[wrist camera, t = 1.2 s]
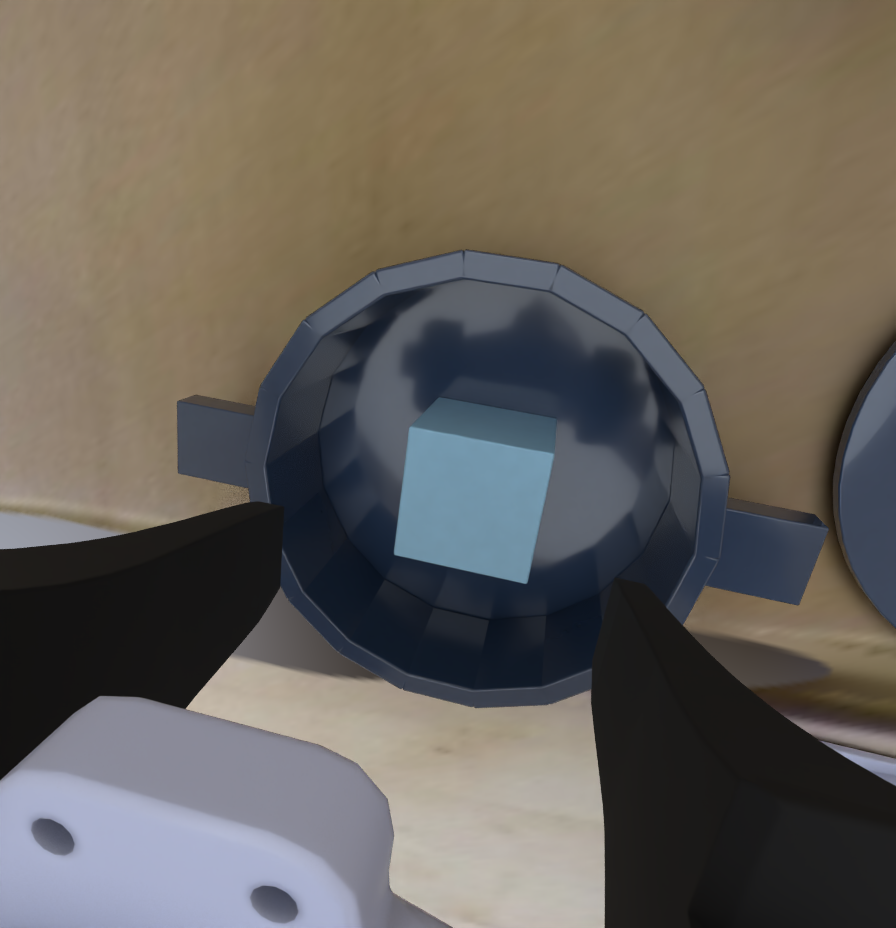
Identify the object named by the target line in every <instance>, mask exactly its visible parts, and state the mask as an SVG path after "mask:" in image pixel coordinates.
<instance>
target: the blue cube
mask: <svg viewBox="0 0 896 928" xmlns="http://www.w3.org/2000/svg"><path fill="white" fill-rule="evenodd" d="M556 429H557V419H555V418H550V417H545V416H540V415H534V414H529V413H523V412H518V411H512V410H507V409H501V408H496V407H490V406H485V405H480V404H474V403H469V402H463V401H458V400H452V399H447V398H441V397H439V398H438V399H437V400H436V401H435V402H434V403H433V404H432V405H431V406H430V407H429V408H428V409H427V410H426V411H425V412H424V413H423V414H422V415H421V416H420V417H419V418H418V419H417V420H416V421H415V422H414V423H413V424H412V425H411V426H410V427H409V433H408V441H407V449H406V457H405V465H404V473H403V482H402V490H401V498H400V506H399V514H398V522H397V530H396V538H395V546H394V555H397V556H401V557H406V558H411V559H415V560H420V561H424V562H429V563H433V564H438V565H442V566H447V567H451V568H456V569H460V570H465V571H469V572H474V573H478V574H483V575H487V576H492V577H497V578H501V579H506V580H510V581H515V582H519V583H524V584H527V582H528V579H529V574H530V569H531V565H532V560H533V555H534V551H535V546H536V541H537V536H538V532H539V527H540V522H541V518H542V513H543V508H544V504H545V499H546V494H547V489H548V485H549V480H550V475H551V471H552V466H553V461H554V456H555V443H556Z"/></svg>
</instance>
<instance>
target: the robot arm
mask: <svg viewBox="0 0 896 928" xmlns="http://www.w3.org/2000/svg"><path fill="white" fill-rule="evenodd" d="M283 524H284V507H283V506H279V505H274V504H269V503H265V502H260V501H256V502H249V503H244V504H240V505H236V506H232V507H228V508H224V509H221V510H217V511H213V512H210V513H206V514H203V515H199V516H195V517H192V518H188V519H185V520H181V521H177V522H173V523H169V524H165V525H161V526H157V527H153V528H149V529H145V530H141V531H137V532H132V533H128V534H123V535H118V536H112V537H107V538H101V539H95V540H89V541H82V542H75V543H68V544H58V545H47V546H38V547H27V548H17V549H0V928H453V927H451V926H449V925H448V924H446V923H444V922H443V921H441V920H439V919H437V918H436V917H434V916H432V915H430V914H429V913H427V912H425V911H424V910H422V909H420V908H418V907H417V906H415V905H413V904H412V903H410V902H408V901H406V900H405V899H403V898H401V897H400V896H398V895H396V894H394V893H393V892H392V891H391V889H390V886H389V866H390V859H391V853H392V846H393V839H394V831H393V825H392V820H391V815H390V809H389V804H388V799H387V798H386V797H385V795H384V794H383V793H382V792H381V791H380V789H379V788H378V787H377V786H376V785H375V784H374V782H373V781H372V780H371V779H370V778H369V777H368V775H367V774H366V773H365V772H364V771H363V769H362V768H361V767H360V766H359V765H358V764H357V763H355V762H353V761H351V760H349V759H347V758H345V757H343V756H341V755H339V754H337V753H335V752H333V751H331V750H329V749H327V748H325V747H323V746H321V745H318V744H314V743H310V742H307V741H303V740H299V739H295V738H292V737H288V736H284V735H280V734H277V733H273V732H269V731H265V730H262V729H258V728H254V727H250V726H247V725H243V724H239V723H235V722H231V721H228V720H224V719H220V718H216V717H213V716H209V715H205V714H201V713H198V712H194V711H190V710H186V708H187V706H188V705H189V704H190V702H191V701H192V700H193V699H194V697H195V696H196V695H197V694H198V693H199V691H200V690H201V689H202V688H203V687H204V686H205V685H206V683H207V682H208V681H209V680H210V679H211V678H212V676H213V675H214V674H215V673H216V672H217V671H218V669H219V668H220V667H221V666H222V665H223V664H224V662H225V661H226V660H227V659H228V658H229V657H230V655H231V654H232V653H233V652H234V651H235V650H236V648H237V647H238V646H239V645H240V644H241V643H242V641H243V640H244V639H245V638H246V637H247V635H248V634H249V633H250V632H251V631H252V629H253V628H254V627H255V626H256V625H257V623H258V622H259V621H260V619H261V618H262V616H263V614H264V613H265V611H266V610H267V608H268V607H269V605H270V603H271V602H272V600H273V598H274V597H275V595H276V593H277V592H278V590H279V588H280V581H281V562H282V543H283ZM591 705H592V715H593V724H594V733H595V742H596V750H597V759H598V767H599V776H600V784H601V793H602V801H603V814H604V830H605V928H896V759H895V758H890V757H886V756H882V755H878V754H874V753H870V752H865V751H861V750H857V749H853V748H849V747H845V746H840V745H836V744H832V743H828V742H824V741H820V740H818V739H816V738H815V737H813V736H812V735H810V734H809V733H807V732H806V731H804V730H803V729H801V728H800V727H799V726H797V725H796V724H794V723H793V722H791V721H790V720H788V719H787V718H785V717H784V716H783V715H781V714H780V713H779V712H777V711H776V710H775V709H773V708H772V707H771V706H769V705H768V704H767V703H766V702H764V701H763V700H762V699H761V698H759V697H758V696H757V695H756V694H754V693H753V692H752V691H751V690H749V689H748V688H747V687H746V686H745V685H743V684H742V683H741V682H740V681H739V680H737V679H736V678H735V677H734V676H733V675H732V674H731V673H729V672H728V671H727V670H726V669H725V668H724V667H723V666H722V665H721V664H720V663H719V662H718V661H717V660H716V659H715V658H714V657H713V656H711V655H710V653H708V652H707V651H706V650H705V648H704V647H703V646H702V645H701V644H700V643H699V642H698V641H697V640H696V639H695V638H694V637H693V636H692V635H691V634H690V633H689V632H688V631H687V630H686V629H685V627H684V626H683V625H682V624H681V623H680V622H679V621H678V620H677V619H676V618H675V616H674V615H673V614H672V613H671V612H670V611H669V610H668V608H667V607H666V606H665V605H664V604H663V603H662V602H661V601H660V599H659V598H658V597H657V596H656V595H655V594H654V593H653V592H652V591H651V589H650V588H649V587H648V586H646V585H645V584H643V583H638V582H634V581H629V580H624V579H620V578H615V577H614V581H613V585H612V588H611V592H610V596H609V599H608V603H607V607H606V611H605V614H604V618H603V622H602V626H601V629H600V633H599V637H598V641H597V644H596V648H595V652H594V655H593V659H592V687H591Z"/></svg>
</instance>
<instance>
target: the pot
mask: <svg viewBox="0 0 896 928" xmlns="http://www.w3.org/2000/svg"><path fill="white" fill-rule="evenodd" d="M260 386H261V387H260V388H259V392H258V397H257V402H256V406H252V405H247V404H241V403H236V402H231V401H226V400H221V399H216V398H210V397H205V396H200V395H193V396H190V397H188V398H185V399H182V400H179V401H177V434H178V473H179V474H183V475H188V476H193V477H197V478H202V479H207V480H212V481H216V482H221V483H226V484H230V485H235V486H240V487H244V488H248V490H249V497H250V502H256V501H260V502H265V503H269V504H274V505H279V506H283V507H284V524H283V543H282V562H281V581H280V586H281V588H282V590H283V592H284V594H285V596H286V598H287V599H288V601H289V602H290V603H291V604H292V605H293V606H294V607H295V608H296V610H297V611H298V612H299V613H300V614H301V615H302V616H303V617H304V618H305V619H306V620H307V621H308V622H309V623H310V624H311V625H312V626H313V627H314V628H315V629H316V630H317V631H318V633H319V634H320V635H321V636H322V637H323V638H324V639H325V640H326V641H327V642H328V643H329V644H330V645H331V646H332V647H333V648H334V649H335V650H336V651H337V652H339V653H340V654H341V655H343V656H344V657H346V658H348V659H350V660H351V661H353V662H355V663H356V664H358V665H360V666H361V667H363V668H365V669H367V670H368V671H370V672H372V673H374V674H375V675H377V676H379V677H380V678H382V679H384V680H386V681H387V682H389V683H391V684H392V685H394V686H396V687H398V688H399V689H402V688H403V690H405V691H409V692H413V693H417V694H421V695H425V696H429V697H433V698H437V699H441V700H445V701H449V702H453V703H457V704H461V705H465V706H469V707H474V708H492V707H515V706H538V705H548V704H553V703H556V702H558V701H561V700H564V699H567V698H569V697H572V696H575V695H577V694H580V693H583V692H586V691H588V690H591V687H592V659H593V655H594V652H595V648H596V644H597V641H598V637H599V633H600V629H601V626H602V622H603V618H604V614H605V611H606V607H607V603H608V599H609V596H610V592H611V588H612V585H613V581H614V577H615V578H620V579H624V580H629V581H634V582H638V583H643V584H645V585H646V586H648V587H649V588H650V589H651V591H652V592H653V593H654V594H655V595H656V596H657V597H658V598H659V599H660V601H661V602H662V603H663V604H664V605H665V606H666V607H667V608H668V610H669V611H670V612H671V613H672V614H673V615H674V616H675V618H676V619H677V620H678V621H679V622H680V623H681V624H682V625H683V624H684V622H685V620H686V618H687V617H688V615H689V613H690V611H691V610H692V608H693V606H694V604H695V602H696V601H697V599H698V597H699V595H700V594H701V592H702V590H703V588H704V586H709V587H714V588H719V589H723V590H728V591H733V592H737V593H742V594H747V595H752V596H756V597H761V598H766V599H770V600H775V601H780V602H784V603H789V604H794V605H799V604H800V601H801V599H802V596H803V594H804V591H805V589H806V586H807V583H808V581H809V578H810V576H811V573H812V571H813V568H814V566H815V563H816V561H817V558H818V555H819V553H820V550H821V548H822V545H823V543H824V540H825V538H826V535H827V533H828V530H829V528H828V527H827V526H826V525H825V524H824V523H823V522H822V521H821V520H820V519H819V518H818V517H817V516H816V515H815V514H810V513H805V512H800V511H795V510H790V509H785V508H779V507H774V506H769V505H764V504H759V503H754V502H748V501H743V500H738V499H733V498H728V491H729V483H730V475H729V468H728V464H727V461H726V457H725V454H724V451H723V447H722V444H721V440H720V437H719V433H718V430H717V426H716V423H715V419H714V416H713V412H712V409H711V406H710V402H709V399H708V395H707V392H706V390H705V389H704V385H703V384H702V382H701V381H700V380H699V379H698V377H697V376H696V375H695V374H694V372H693V371H692V370H691V369H690V367H689V366H688V365H687V364H686V362H685V361H684V360H683V359H682V357H681V356H680V355H679V354H678V352H677V351H676V350H675V349H674V347H673V346H672V345H671V344H670V342H669V341H668V340H667V339H666V337H665V336H664V335H663V333H662V332H661V331H660V330H659V328H658V327H657V326H656V325H655V323H654V322H653V321H652V320H651V318H650V317H649V316H648V315H647V314H646V313H644V312H643V311H642V310H641V309H639V308H637V307H636V306H634V305H632V304H631V303H629V302H627V301H626V300H624V299H622V298H620V297H619V296H617V295H615V294H613V293H612V292H610V291H608V290H607V289H605V288H603V287H601V286H600V285H598V284H596V283H594V282H593V281H591V280H589V279H587V278H586V277H584V276H582V275H580V274H579V273H577V272H575V271H573V270H572V269H570V268H568V267H566V266H565V265H561V264H559V263H554V262H547V261H541V260H534V259H527V258H521V257H514V256H507V255H501V254H494V253H487V252H480V251H474V250H467V249H466V250H458V251H454V252H449V253H445V254H441V255H436V256H432V257H428V258H423V259H419V260H415V261H410V262H406V263H402V264H397V265H393V266H389V267H384V268H380V269H377V270H376V271H373V272H371V273H369V274H368V275H366V276H365V277H363V278H362V279H360V280H359V281H358V282H356V283H355V284H353V285H352V286H350V287H349V288H348V289H346V290H345V291H343V292H342V293H340V294H339V295H337V296H336V297H335V298H333V299H332V300H330V301H329V302H327V303H326V304H325V305H323V306H322V307H320V308H319V309H317V310H316V311H314V312H313V313H312V314H310V315H309V316H307V317H306V319H305V320H303V321H302V322H301V324H300V325H299V327H298V328H297V330H296V331H295V333H294V334H293V336H292V337H291V339H290V340H289V342H288V344H287V345H286V347H285V348H284V350H283V351H282V353H281V354H280V356H279V357H278V359H277V360H276V362H275V363H274V365H273V366H272V368H271V369H270V371H269V373H268V374H267V376H266V377H265V379H264V380H263V382H262V383H261V385H260ZM439 397H441V398H447V399H452V400H458V401H463V402H469V403H474V404H480V405H485V406H490V407H496V408H501V409H507V410H512V411H518V412H523V413H529V414H534V415H540V416H545V417H550V418H555V419H557V429H556V443H555V456H554V461H553V466H552V471H551V475H550V480H549V485H548V489H547V494H546V499H545V504H544V508H543V513H542V518H541V522H540V527H539V532H538V536H537V541H536V546H535V551H534V555H533V560H532V565H531V569H530V574H529V579H528V582H527V584H524V583H519V582H515V581H510V580H506V579H501V578H497V577H492V576H487V575H483V574H478V573H474V572H469V571H465V570H460V569H456V568H451V567H447V566H442V565H438V564H433V563H429V562H424V561H420V560H415V559H411V558H406V557H401V556H397V555H394V546H395V538H396V530H397V522H398V514H399V506H400V498H401V490H402V482H403V473H404V465H405V457H406V449H407V441H408V433H409V427H410V426H411V425H412V424H413V423H414V422H415V421H416V420H417V419H418V418H419V417H420V416H421V415H422V414H423V413H424V412H425V411H426V410H427V409H428V408H429V407H430V406H431V405H432V404H433V403H434V402H435V401H436V400H437V399H438V398H439Z"/></svg>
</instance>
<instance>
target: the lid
mask: <svg viewBox="0 0 896 928" xmlns="http://www.w3.org/2000/svg"><path fill="white" fill-rule="evenodd" d="M833 513H834V519H835V525H836V532H837V537H838V540H839V543H840V546H841V549H842V552H843V555H844V558H845V561H846V563H847V565H848V567H849V569H850V571H851V573H852V575H853V576H854V578H855V580H856V582H857V584H858V586H859V587H860V589H861V590H862V591H863V593H864V594H865V595H866V596H867V598H868V599H869V600H870V602H871V603H872V604H873V606H874V607H875V608H876V609H877V610H878V612H879V613H880V614H881V615H882V616H883V617H884V618H885V619H886V620H887V621H888V622H889V623H890V624H891V625H893V626H894V627H895V628H896V341H895V342H894V343H893V344H892V346H891V347H890V348H889V349H888V351H887V352H886V353H885V354H884V356H883V357H882V358H881V359H880V361H879V362H878V364H877V365H876V367H875V369H874V370H873V372H872V373H871V375H870V377H869V378H868V380H867V381H866V383H865V385H864V386H863V388H862V390H861V391H860V393H859V395H858V398H857V400H856V402H855V404H854V406H853V408H852V411H851V413H850V415H849V417H848V419H847V422H846V425H845V428H844V431H843V435H842V438H841V441H840V445H839V448H838V451H837V457H836V464H835V471H834V477H833Z"/></svg>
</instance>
